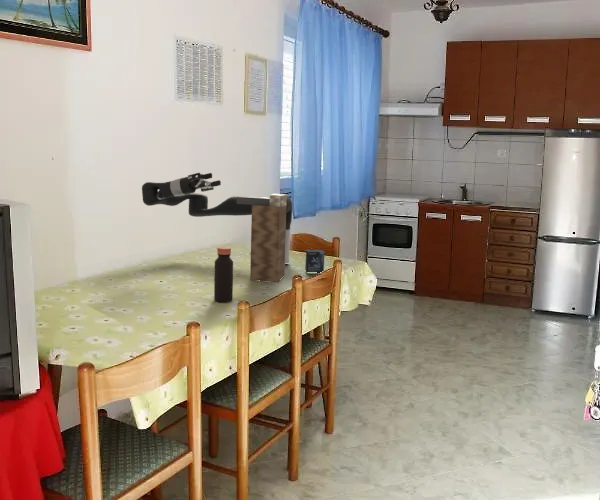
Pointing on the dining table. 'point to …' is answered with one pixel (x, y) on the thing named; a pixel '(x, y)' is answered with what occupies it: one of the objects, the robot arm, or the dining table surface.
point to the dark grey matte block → (253, 200)
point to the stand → (268, 239)
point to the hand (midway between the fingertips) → (216, 179)
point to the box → (314, 261)
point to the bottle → (223, 276)
